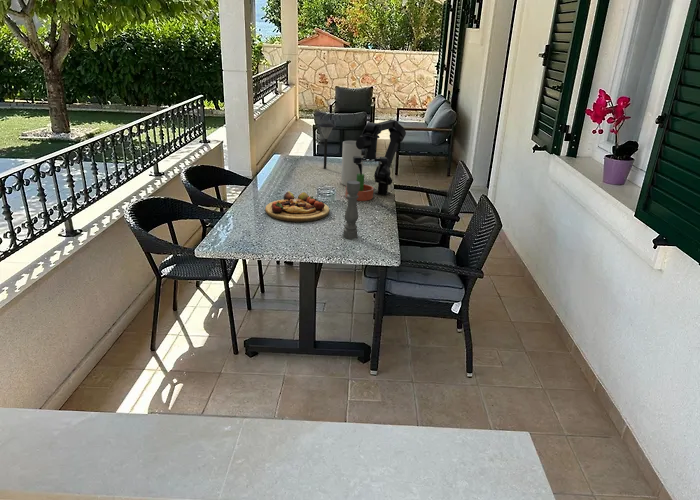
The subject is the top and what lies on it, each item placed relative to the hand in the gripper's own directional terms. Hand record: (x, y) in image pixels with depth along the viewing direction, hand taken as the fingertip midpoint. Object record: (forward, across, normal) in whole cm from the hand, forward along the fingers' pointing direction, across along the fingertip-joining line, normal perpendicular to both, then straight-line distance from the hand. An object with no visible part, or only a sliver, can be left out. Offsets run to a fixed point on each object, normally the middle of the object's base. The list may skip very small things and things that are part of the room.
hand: (369, 175), depth 276 cm
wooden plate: (+13, +40, +25) cm, 49 cm away
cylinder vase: (+13, +6, -28) cm, 32 cm away
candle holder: (+13, +17, +58) cm, 62 cm away
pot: (+13, +5, -2) cm, 14 cm away
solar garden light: (+13, +19, -65) cm, 69 cm away
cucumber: (+12, +4, -2) cm, 13 cm away
